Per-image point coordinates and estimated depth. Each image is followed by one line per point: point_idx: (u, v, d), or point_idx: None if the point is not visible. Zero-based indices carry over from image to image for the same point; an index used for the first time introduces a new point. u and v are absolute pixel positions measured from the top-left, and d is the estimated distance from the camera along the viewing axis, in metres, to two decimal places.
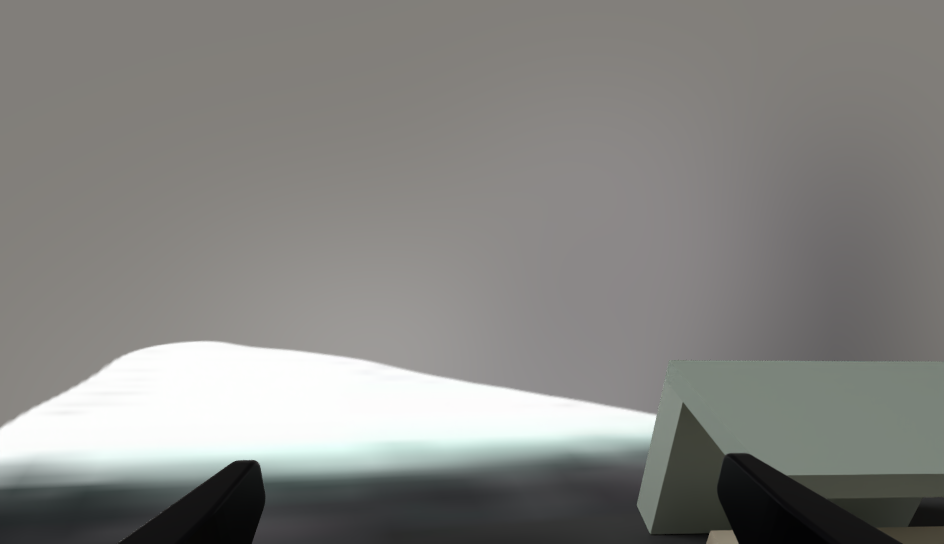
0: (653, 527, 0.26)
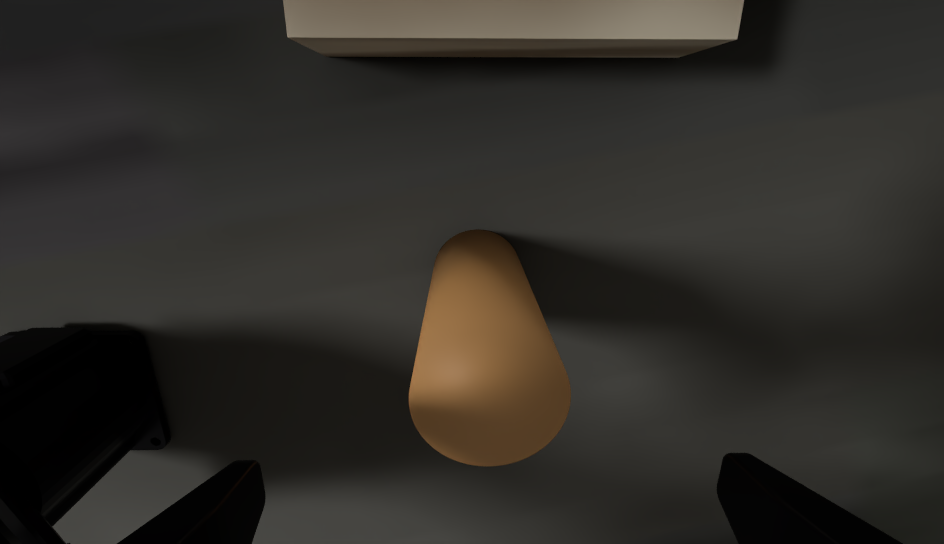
0: None
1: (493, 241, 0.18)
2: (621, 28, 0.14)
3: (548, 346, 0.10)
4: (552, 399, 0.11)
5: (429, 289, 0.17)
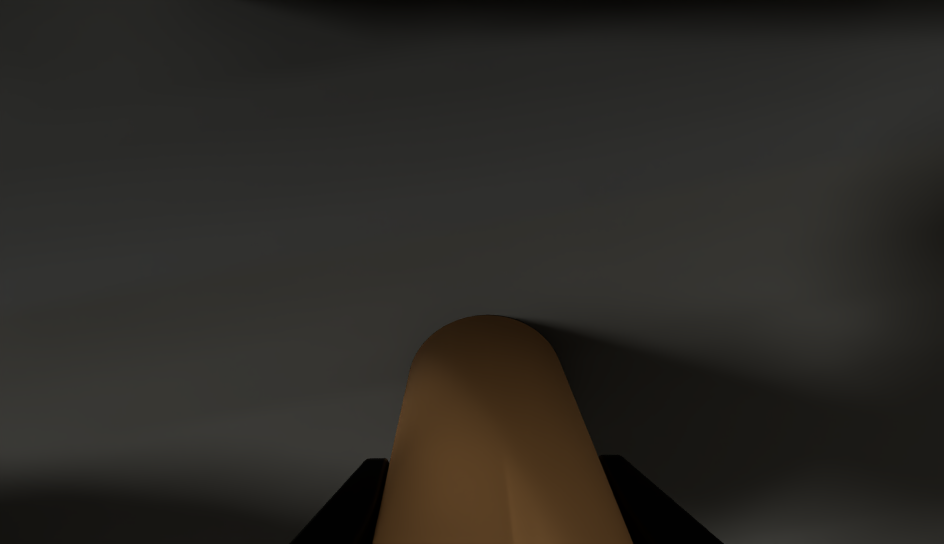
0: None
1: (519, 354, 0.09)
2: None
3: None
4: None
5: (386, 478, 0.08)
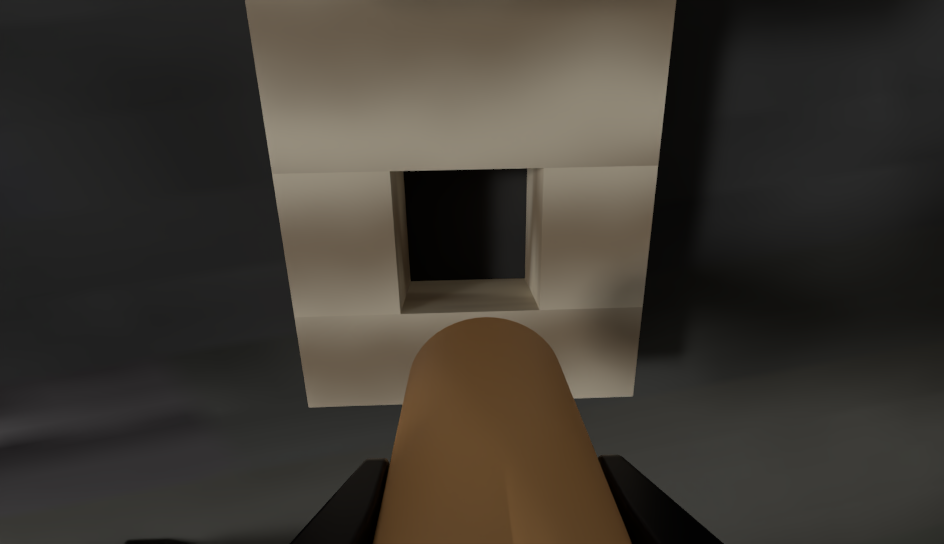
0: None
1: (519, 356, 0.09)
2: None
3: None
4: None
5: (386, 481, 0.08)
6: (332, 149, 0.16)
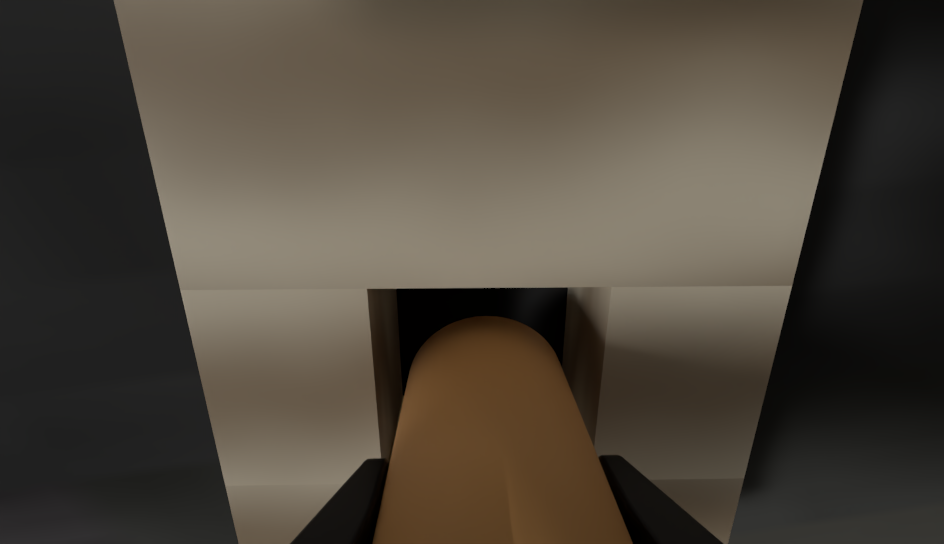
0: None
1: (519, 355, 0.09)
2: None
3: None
4: None
5: None
6: (274, 256, 0.10)
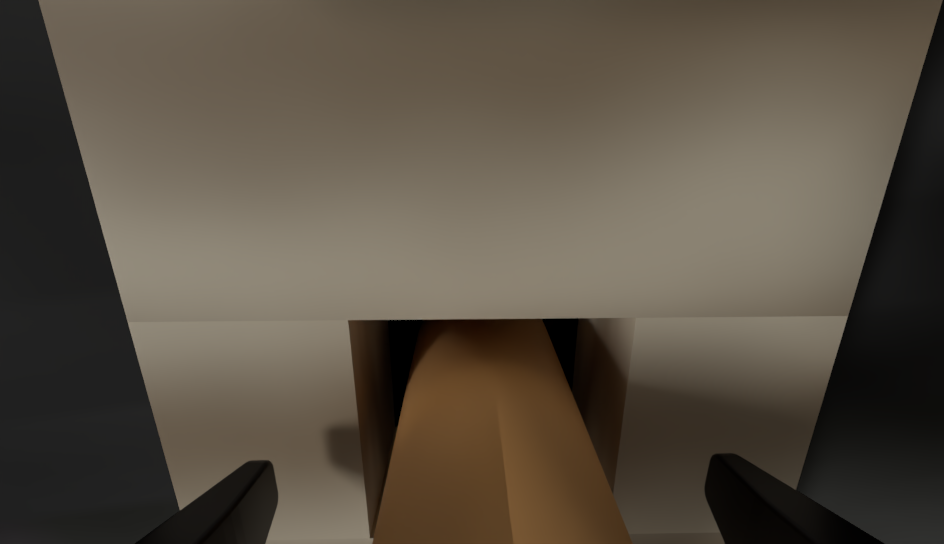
0: None
1: None
2: None
3: None
4: None
5: (401, 410, 0.10)
6: (238, 282, 0.08)
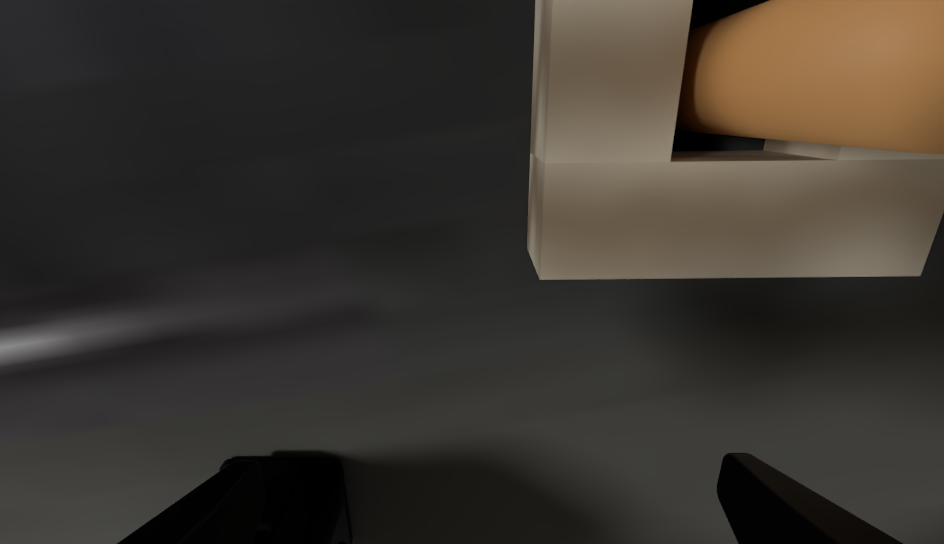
0: None
1: None
2: (821, 269, 0.16)
3: None
4: None
5: (707, 54, 0.14)
6: None
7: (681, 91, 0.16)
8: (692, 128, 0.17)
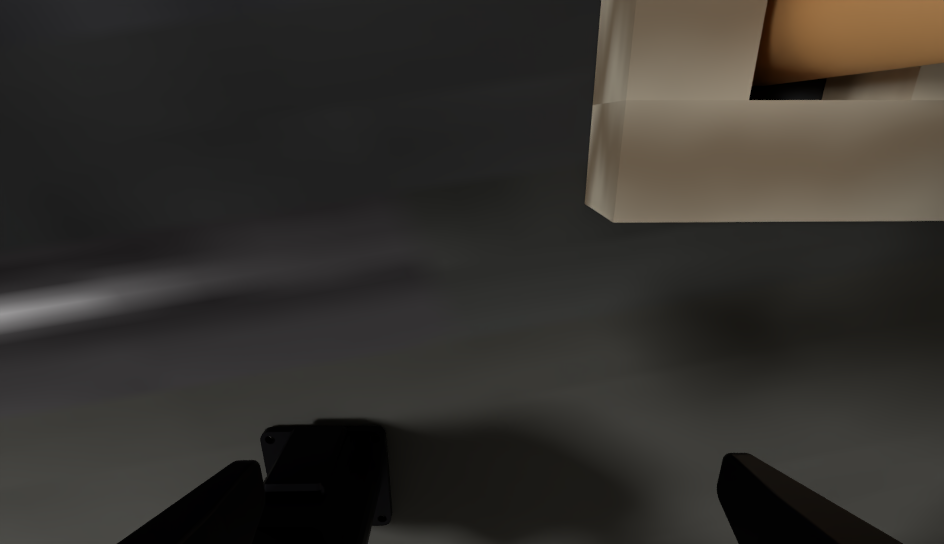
0: None
1: None
2: (890, 213, 0.16)
3: None
4: None
5: None
6: None
7: None
8: (757, 77, 0.17)
